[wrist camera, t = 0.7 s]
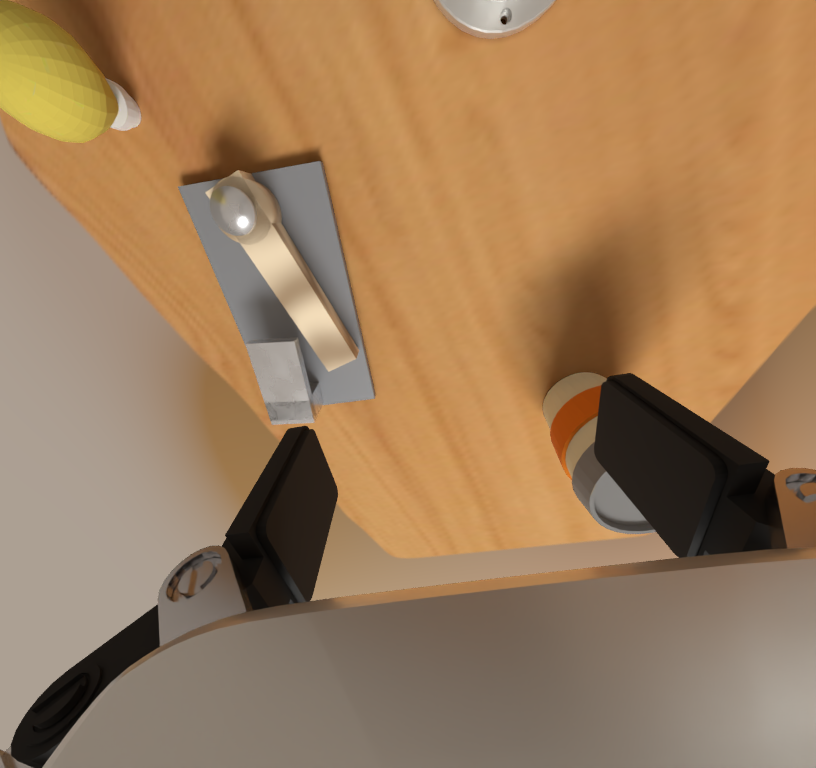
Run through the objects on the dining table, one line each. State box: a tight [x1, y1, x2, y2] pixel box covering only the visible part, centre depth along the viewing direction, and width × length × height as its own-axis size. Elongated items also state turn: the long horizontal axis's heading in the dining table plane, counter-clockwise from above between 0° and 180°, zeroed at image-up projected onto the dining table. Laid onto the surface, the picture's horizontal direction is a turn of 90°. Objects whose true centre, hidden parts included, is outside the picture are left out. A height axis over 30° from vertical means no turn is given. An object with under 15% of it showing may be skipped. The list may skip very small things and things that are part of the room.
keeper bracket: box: [245, 337, 324, 425], centre depth 35 cm, size 10×5×4 cm, turn 3°
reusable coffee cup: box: [543, 372, 656, 534], centre depth 34 cm, size 13×12×15 cm
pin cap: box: [210, 186, 257, 236], centre depth 26 cm, size 4×4×1 cm
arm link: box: [205, 170, 359, 372], centre depth 31 cm, size 19×5×2 cm, turn 26°
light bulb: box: [0, 0, 141, 143], centre depth 22 cm, size 7×7×10 cm
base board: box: [178, 161, 375, 405], centre depth 34 cm, size 25×14×1 cm, turn 8°
